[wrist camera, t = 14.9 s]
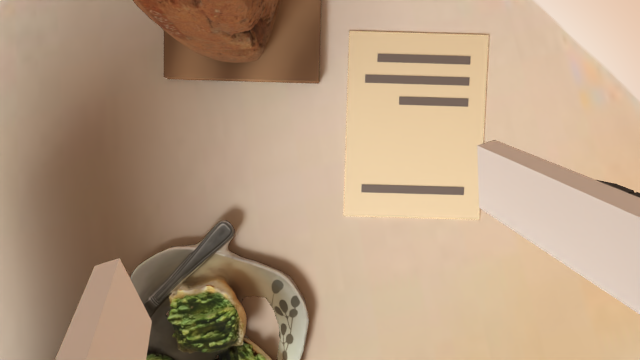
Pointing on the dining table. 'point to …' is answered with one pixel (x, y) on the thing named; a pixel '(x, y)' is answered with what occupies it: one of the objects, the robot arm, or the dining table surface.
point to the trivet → (273, 65)
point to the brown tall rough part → (217, 25)
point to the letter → (414, 124)
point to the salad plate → (215, 302)
